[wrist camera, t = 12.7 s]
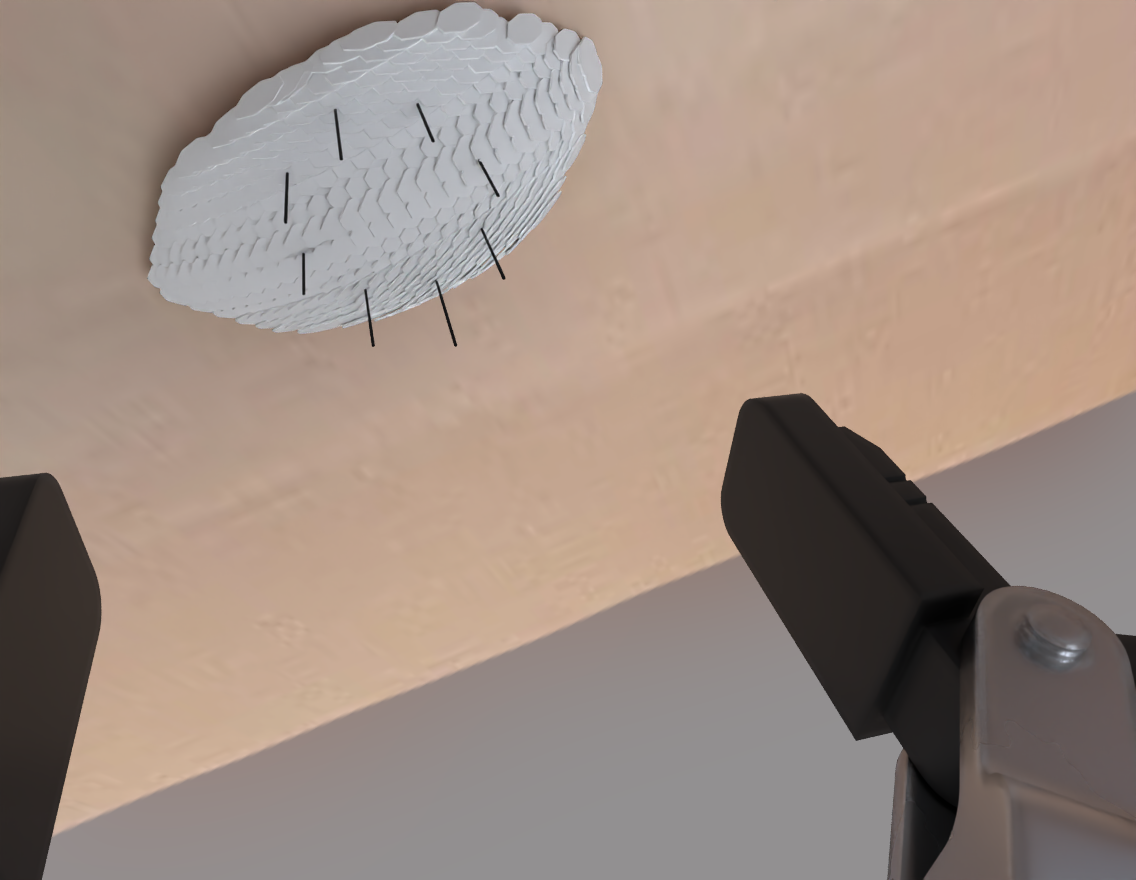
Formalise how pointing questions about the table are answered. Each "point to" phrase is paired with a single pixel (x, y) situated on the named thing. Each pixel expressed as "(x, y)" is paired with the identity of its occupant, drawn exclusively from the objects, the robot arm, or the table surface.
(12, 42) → the table surface
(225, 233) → the pincushion
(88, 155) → the table surface
